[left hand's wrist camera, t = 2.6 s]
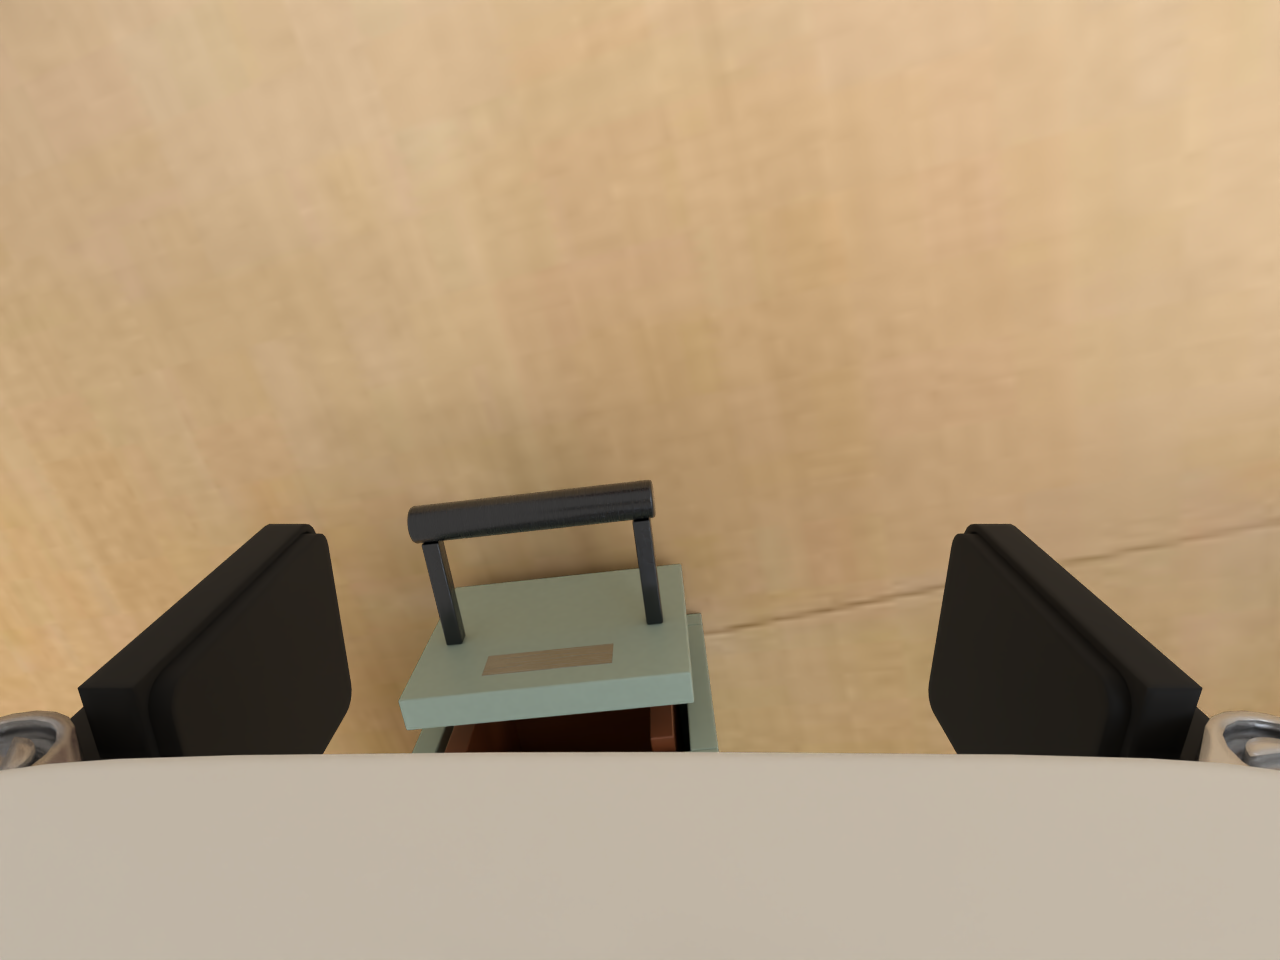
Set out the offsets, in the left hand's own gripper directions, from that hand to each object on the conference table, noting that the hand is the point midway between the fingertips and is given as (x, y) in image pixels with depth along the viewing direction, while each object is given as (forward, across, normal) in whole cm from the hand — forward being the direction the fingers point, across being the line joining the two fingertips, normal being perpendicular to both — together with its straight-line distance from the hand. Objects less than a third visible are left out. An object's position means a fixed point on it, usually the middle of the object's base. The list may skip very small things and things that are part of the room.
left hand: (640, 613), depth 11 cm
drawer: (+18, +2, +15) cm, 23 cm away
